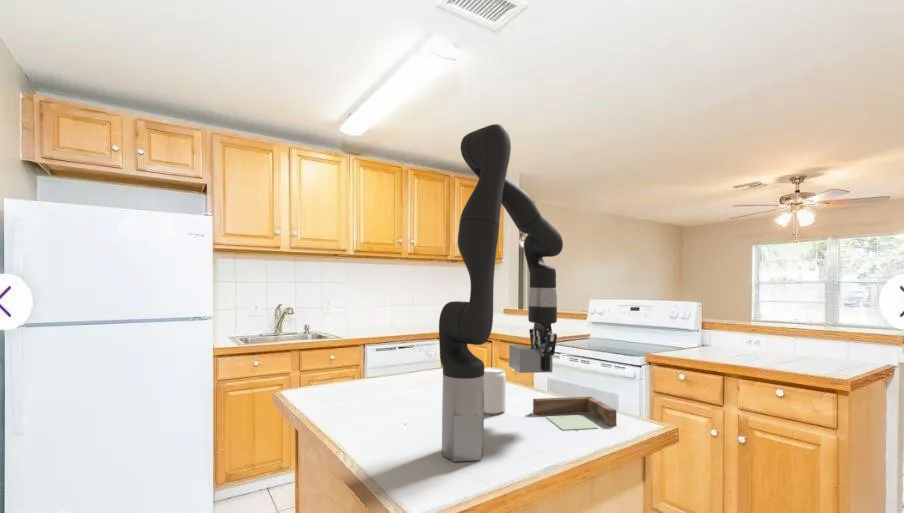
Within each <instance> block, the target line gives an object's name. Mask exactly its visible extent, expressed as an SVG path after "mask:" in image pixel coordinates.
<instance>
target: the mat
mask: <svg viewBox="0 0 904 513" xmlns="http://www.w3.org/2000/svg"><path fill="white" fill-rule="evenodd" d="M545 419H547V420H549V421H550V422H551V423H552V424H554V425H555V426H556V427H558V428H559V429H560V430H562V431H574V430H576V431H577V430H593V429H595V430H596V429H597V430H599V426H598V425H596V424H594V423H592V422H591V421H589V420H587V419H586V418H585V417H582V416H581V415H579V414H575V415H574V414H572V415H570V414H569V415H553V416H550V415H549V416H548V415H547V416H545Z"/></svg>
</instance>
